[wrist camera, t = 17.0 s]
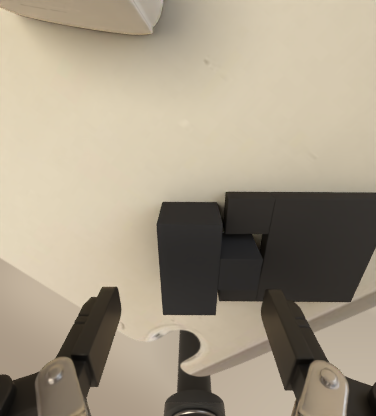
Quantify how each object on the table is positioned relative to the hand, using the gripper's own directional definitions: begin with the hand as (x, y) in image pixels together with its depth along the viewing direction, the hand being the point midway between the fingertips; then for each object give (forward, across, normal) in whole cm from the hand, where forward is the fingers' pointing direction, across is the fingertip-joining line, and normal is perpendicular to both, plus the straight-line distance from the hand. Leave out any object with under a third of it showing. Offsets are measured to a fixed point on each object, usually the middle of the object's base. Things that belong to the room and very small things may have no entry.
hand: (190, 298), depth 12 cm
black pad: (+10, -10, +4) cm, 15 cm away
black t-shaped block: (+10, -2, +4) cm, 11 cm away
